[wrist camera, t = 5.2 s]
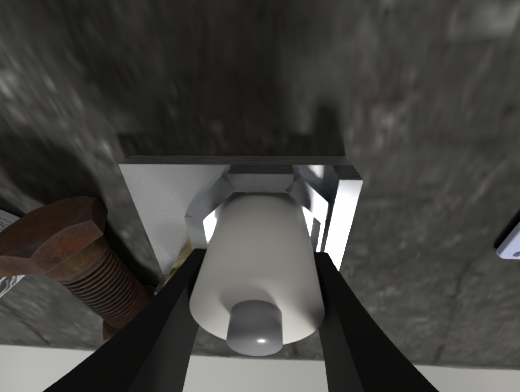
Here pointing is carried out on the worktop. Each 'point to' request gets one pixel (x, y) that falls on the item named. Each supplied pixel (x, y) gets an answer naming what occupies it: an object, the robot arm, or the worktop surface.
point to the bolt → (75, 258)
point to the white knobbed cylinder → (259, 276)
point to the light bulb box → (3, 220)
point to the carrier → (233, 184)
